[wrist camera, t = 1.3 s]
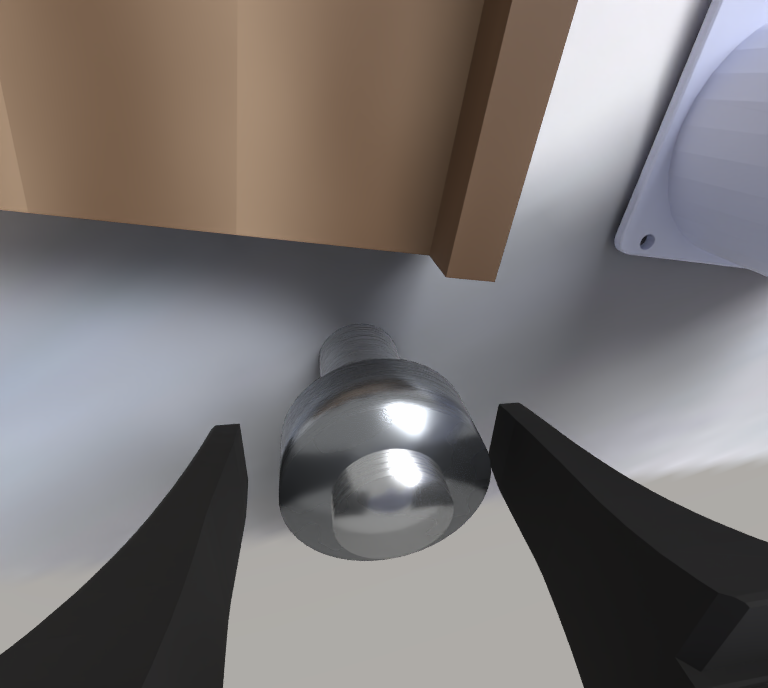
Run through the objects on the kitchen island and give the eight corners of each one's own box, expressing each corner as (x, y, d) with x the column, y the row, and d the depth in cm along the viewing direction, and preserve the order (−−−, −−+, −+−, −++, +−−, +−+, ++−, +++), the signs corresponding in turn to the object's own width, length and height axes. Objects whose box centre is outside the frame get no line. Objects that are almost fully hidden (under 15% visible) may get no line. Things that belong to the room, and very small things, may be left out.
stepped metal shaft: (442, 298, 16) (532, 432, 10) (414, 417, 18) (471, 582, 12) (289, 285, 14) (284, 429, 9) (280, 414, 17) (272, 595, 11)
